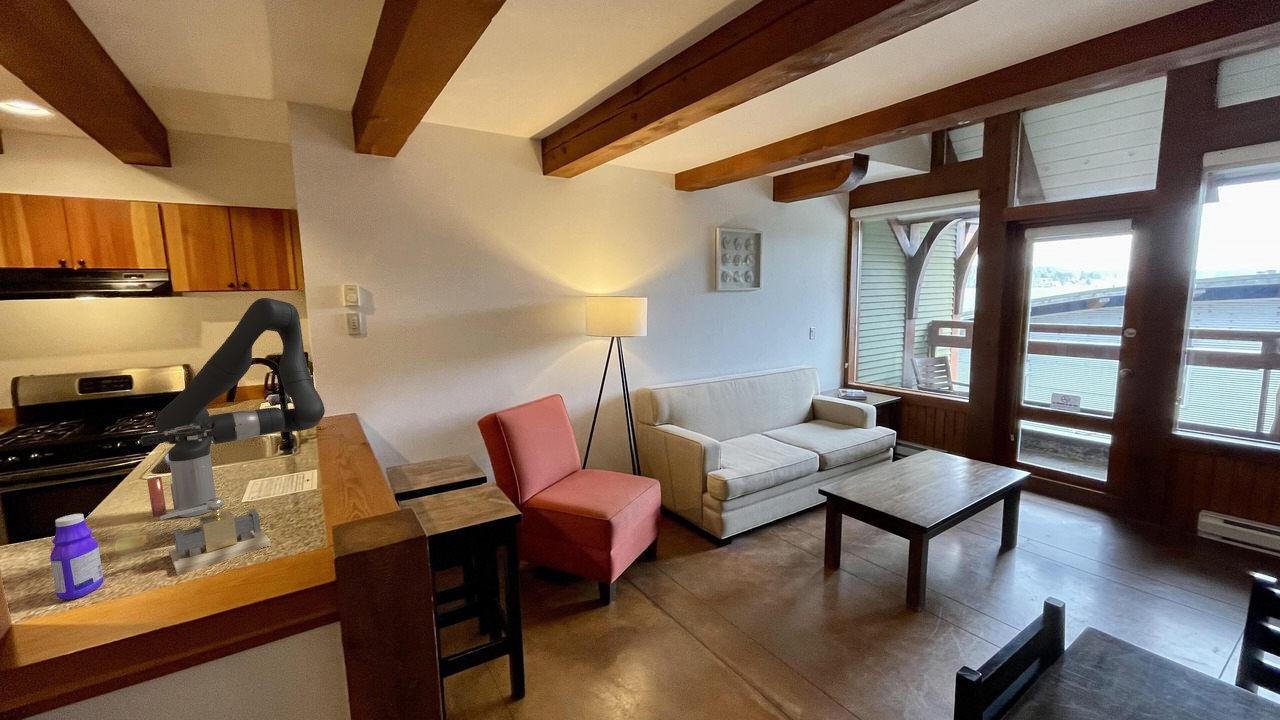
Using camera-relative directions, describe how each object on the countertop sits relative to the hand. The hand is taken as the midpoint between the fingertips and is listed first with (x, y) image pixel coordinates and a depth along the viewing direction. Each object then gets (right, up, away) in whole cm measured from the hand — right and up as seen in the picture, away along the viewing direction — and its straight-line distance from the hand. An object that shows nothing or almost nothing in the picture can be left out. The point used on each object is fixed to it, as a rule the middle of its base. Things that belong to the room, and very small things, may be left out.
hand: (141, 441), depth 117 cm
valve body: (+10, -28, +10) cm, 31 cm away
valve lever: (+7, -18, +5) cm, 20 cm away
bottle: (-6, -32, -7) cm, 34 cm away
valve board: (+10, -30, +10) cm, 33 cm away
